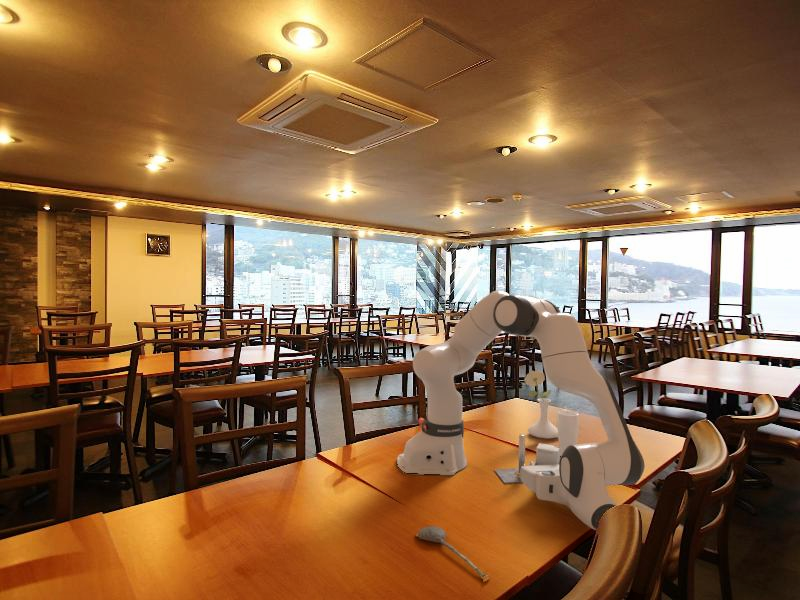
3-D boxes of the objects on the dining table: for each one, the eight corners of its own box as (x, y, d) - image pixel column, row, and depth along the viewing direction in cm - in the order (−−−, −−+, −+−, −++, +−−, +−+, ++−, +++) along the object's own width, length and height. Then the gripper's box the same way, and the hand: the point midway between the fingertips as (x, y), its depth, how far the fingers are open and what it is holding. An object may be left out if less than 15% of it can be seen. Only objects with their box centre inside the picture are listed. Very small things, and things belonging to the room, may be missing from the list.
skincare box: (534, 489, 127) (535, 447, 126) (538, 483, 131) (538, 442, 130) (557, 494, 124) (557, 451, 123) (560, 488, 128) (560, 446, 127)
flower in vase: (558, 432, 174) (559, 368, 173) (560, 442, 163) (561, 374, 162) (523, 429, 177) (524, 366, 176) (523, 439, 166) (524, 372, 165)
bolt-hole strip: (504, 483, 130) (504, 482, 130) (494, 470, 139) (494, 469, 139) (588, 479, 134) (588, 477, 134) (573, 466, 143) (573, 465, 143)
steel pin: (518, 476, 134) (519, 437, 133) (514, 472, 137) (515, 433, 136) (528, 476, 134) (528, 436, 134) (524, 472, 137) (524, 433, 137)
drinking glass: (574, 453, 153) (575, 409, 153) (580, 461, 147) (581, 416, 146) (554, 452, 154) (555, 409, 153) (559, 460, 147) (560, 415, 146)
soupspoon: (432, 530, 109) (410, 539, 105) (431, 516, 109) (409, 525, 105) (498, 577, 90) (473, 591, 87) (497, 561, 90) (472, 574, 87)
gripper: (609, 471, 115) (581, 450, 129) (533, 475, 113) (512, 454, 126) (608, 495, 116) (580, 472, 129) (532, 500, 113) (512, 475, 127)
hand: (546, 463), depth 128 cm, fingers closed on skincare box, 7 cm apart
